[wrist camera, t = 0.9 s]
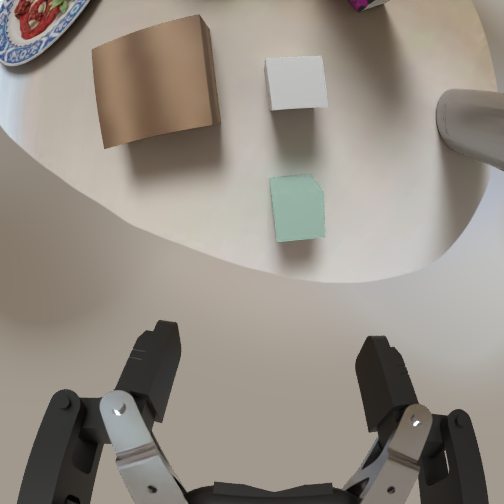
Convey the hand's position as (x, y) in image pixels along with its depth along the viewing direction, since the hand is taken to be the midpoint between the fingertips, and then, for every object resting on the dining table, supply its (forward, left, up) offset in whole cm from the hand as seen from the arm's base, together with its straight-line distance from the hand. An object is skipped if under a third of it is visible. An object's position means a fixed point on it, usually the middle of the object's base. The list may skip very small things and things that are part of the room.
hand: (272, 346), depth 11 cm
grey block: (-4, -11, -24) cm, 27 cm away
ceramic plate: (+28, -39, -25) cm, 54 cm away
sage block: (-3, +2, -24) cm, 25 cm away
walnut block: (+10, -14, -25) cm, 30 cm away
